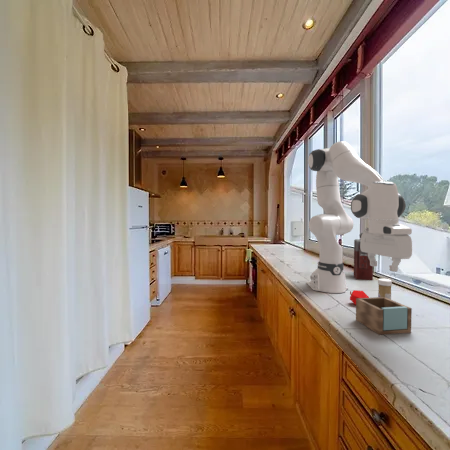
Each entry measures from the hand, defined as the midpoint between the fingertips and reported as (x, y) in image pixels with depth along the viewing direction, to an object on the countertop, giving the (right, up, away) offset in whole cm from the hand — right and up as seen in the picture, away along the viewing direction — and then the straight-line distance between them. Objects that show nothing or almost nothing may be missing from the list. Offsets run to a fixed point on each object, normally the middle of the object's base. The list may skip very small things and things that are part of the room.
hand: (383, 268), depth 90 cm
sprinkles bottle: (+8, -20, +12) cm, 24 cm away
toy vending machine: (+29, -18, +68) cm, 76 cm away
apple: (+3, -20, +22) cm, 30 cm away
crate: (0, -20, +1) cm, 20 cm away
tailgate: (+1, -19, -5) cm, 20 cm away
